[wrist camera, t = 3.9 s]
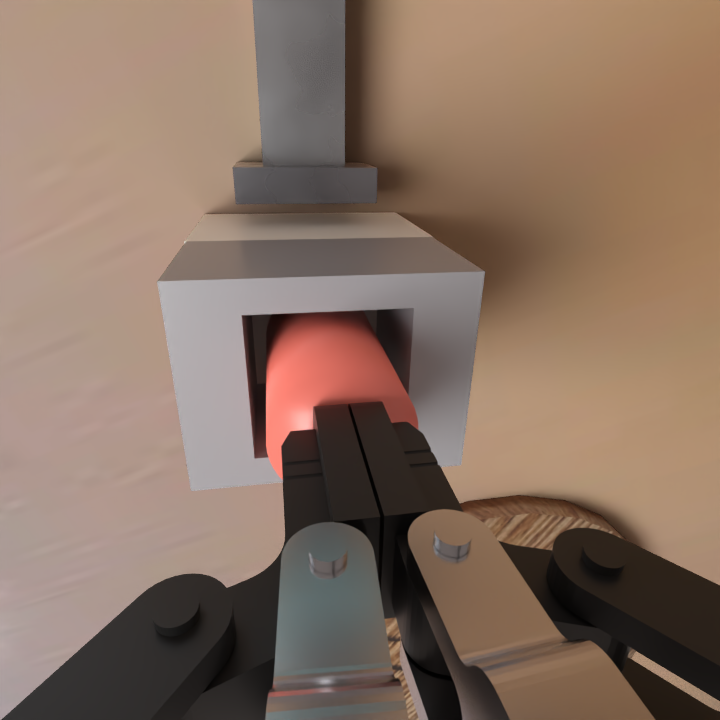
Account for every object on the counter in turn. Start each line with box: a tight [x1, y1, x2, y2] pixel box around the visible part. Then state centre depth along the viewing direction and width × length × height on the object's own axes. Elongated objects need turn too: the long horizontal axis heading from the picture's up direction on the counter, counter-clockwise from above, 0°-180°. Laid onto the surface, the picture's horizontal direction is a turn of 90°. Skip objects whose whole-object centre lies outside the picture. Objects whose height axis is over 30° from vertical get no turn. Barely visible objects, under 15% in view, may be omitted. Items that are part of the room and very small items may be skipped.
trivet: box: [385, 495, 636, 720], centre depth 34 cm, size 25×25×2 cm
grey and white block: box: [157, 212, 485, 491], centre depth 18 cm, size 6×8×10 cm
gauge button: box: [266, 310, 418, 480], centre depth 14 cm, size 3×3×6 cm
